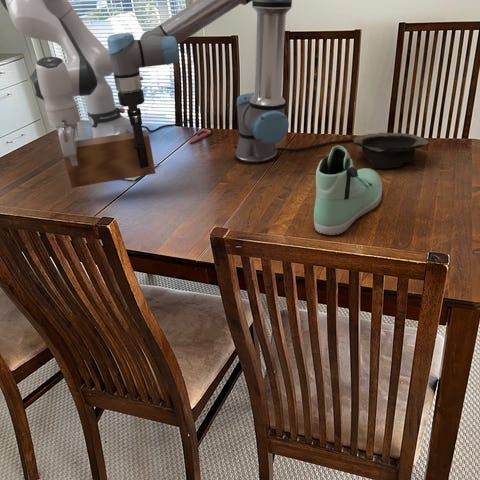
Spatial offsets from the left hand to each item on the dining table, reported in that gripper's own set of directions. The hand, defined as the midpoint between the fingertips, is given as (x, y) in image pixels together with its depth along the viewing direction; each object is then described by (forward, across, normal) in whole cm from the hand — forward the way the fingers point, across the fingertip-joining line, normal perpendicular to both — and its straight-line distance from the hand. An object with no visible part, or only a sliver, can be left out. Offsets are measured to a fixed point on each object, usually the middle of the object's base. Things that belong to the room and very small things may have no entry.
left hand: (75, 160), depth 148 cm
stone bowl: (+14, -9, -103) cm, 104 cm away
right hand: (+4, 0, -20) cm, 21 cm away
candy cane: (+14, +43, -46) cm, 65 cm away
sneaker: (+14, -37, -74) cm, 84 cm away
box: (+7, 0, -10) cm, 13 cm away
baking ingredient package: (+14, +18, -18) cm, 29 cm away
